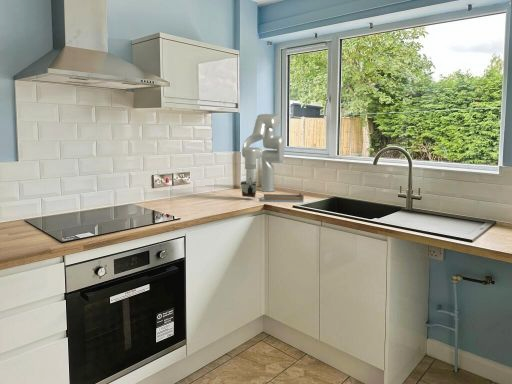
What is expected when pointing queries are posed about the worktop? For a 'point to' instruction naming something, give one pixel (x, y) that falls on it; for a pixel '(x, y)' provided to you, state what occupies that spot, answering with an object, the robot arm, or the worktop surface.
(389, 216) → the worktop surface
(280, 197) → the keyway board
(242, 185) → the food container
